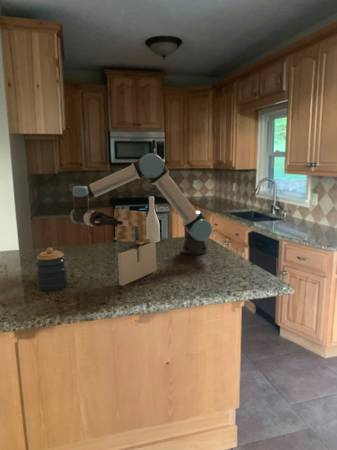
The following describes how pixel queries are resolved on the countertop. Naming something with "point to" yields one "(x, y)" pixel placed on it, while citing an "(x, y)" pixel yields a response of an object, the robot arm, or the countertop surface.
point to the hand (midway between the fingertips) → (130, 222)
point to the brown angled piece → (131, 226)
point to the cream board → (136, 263)
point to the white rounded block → (152, 223)
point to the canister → (51, 271)
